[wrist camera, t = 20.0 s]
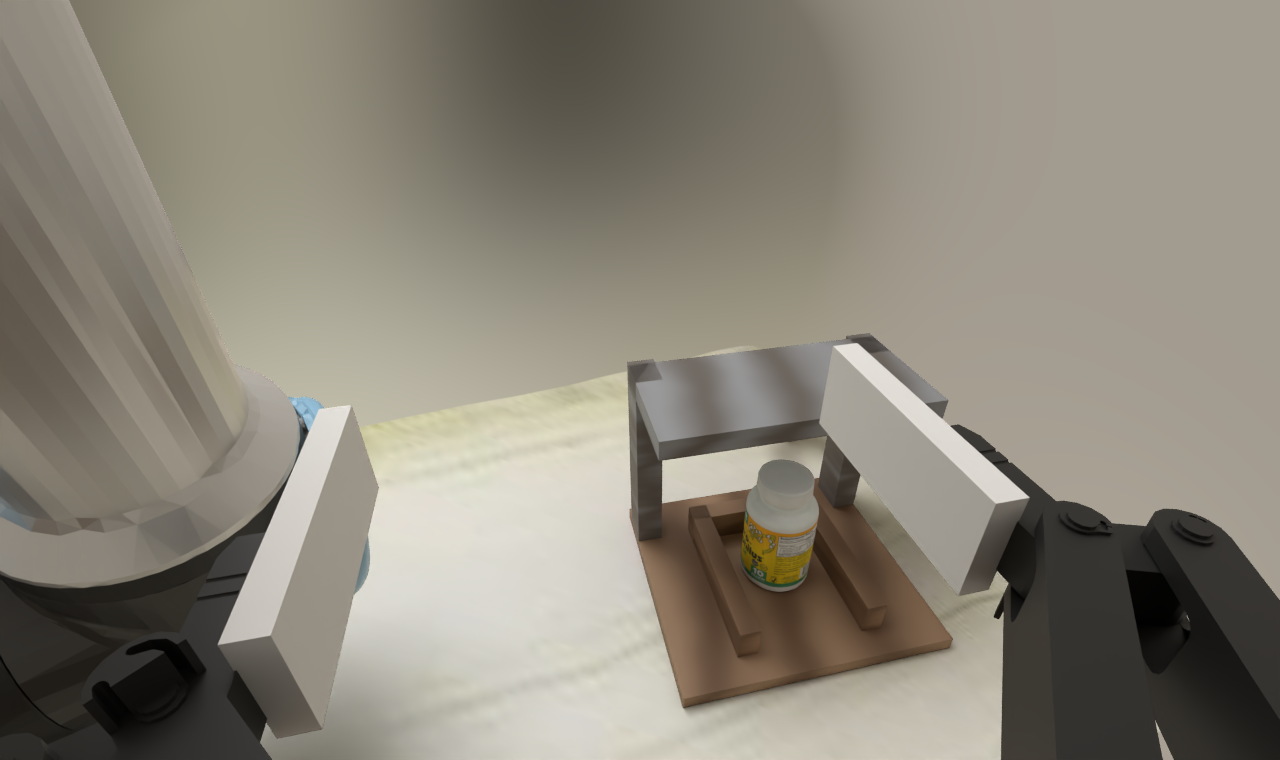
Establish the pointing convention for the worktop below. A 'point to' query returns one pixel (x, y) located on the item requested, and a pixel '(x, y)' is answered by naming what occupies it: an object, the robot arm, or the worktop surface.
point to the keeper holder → (713, 528)
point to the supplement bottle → (779, 526)
